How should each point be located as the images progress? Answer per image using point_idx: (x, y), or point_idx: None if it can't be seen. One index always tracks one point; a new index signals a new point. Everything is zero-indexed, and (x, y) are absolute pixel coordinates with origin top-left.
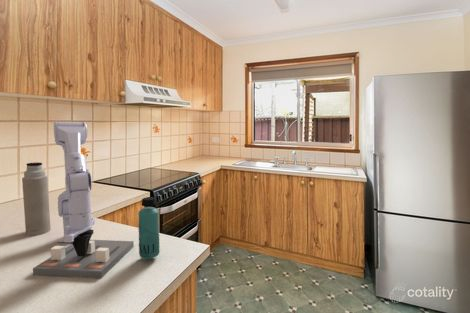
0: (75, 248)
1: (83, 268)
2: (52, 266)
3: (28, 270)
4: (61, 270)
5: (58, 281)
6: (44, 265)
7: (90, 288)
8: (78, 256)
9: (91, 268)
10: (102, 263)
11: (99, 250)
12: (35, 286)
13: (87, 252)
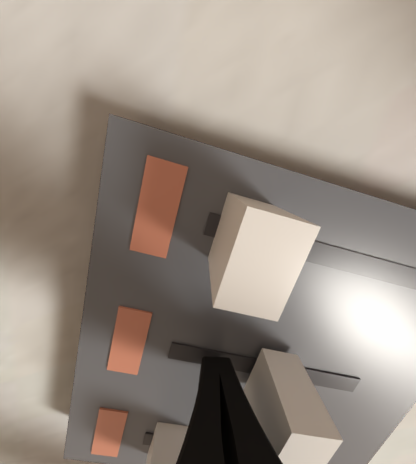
0: (190, 420)
1: (91, 396)
2: (125, 242)
3: (194, 56)
4: (85, 303)
5: (59, 286)
6: (142, 184)
7: (12, 408)
8: (202, 359)
9: (91, 422)
10: (136, 446)
11: None
12: (9, 201)
13: (253, 381)
